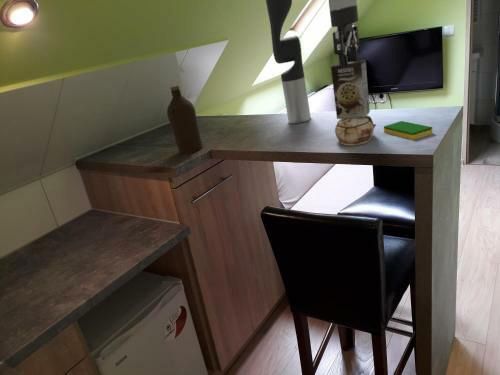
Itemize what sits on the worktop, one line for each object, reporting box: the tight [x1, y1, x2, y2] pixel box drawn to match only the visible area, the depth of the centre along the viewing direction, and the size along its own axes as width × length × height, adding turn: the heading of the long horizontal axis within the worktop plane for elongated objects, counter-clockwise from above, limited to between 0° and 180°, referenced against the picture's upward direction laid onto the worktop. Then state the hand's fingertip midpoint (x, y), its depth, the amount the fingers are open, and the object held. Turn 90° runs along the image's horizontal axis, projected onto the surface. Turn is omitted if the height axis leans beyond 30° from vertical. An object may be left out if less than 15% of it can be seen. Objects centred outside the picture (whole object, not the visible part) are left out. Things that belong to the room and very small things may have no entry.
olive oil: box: [166, 85, 204, 155], centre depth 150 cm, size 11×11×25 cm
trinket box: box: [334, 114, 377, 147], centre depth 124 cm, size 13×15×8 cm
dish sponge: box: [383, 120, 433, 141], centre depth 120 cm, size 7×14×2 cm, turn 18°
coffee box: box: [330, 59, 371, 120], centre depth 119 cm, size 9×6×16 cm
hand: (349, 65), depth 116 cm, fingers open, 8 cm apart
